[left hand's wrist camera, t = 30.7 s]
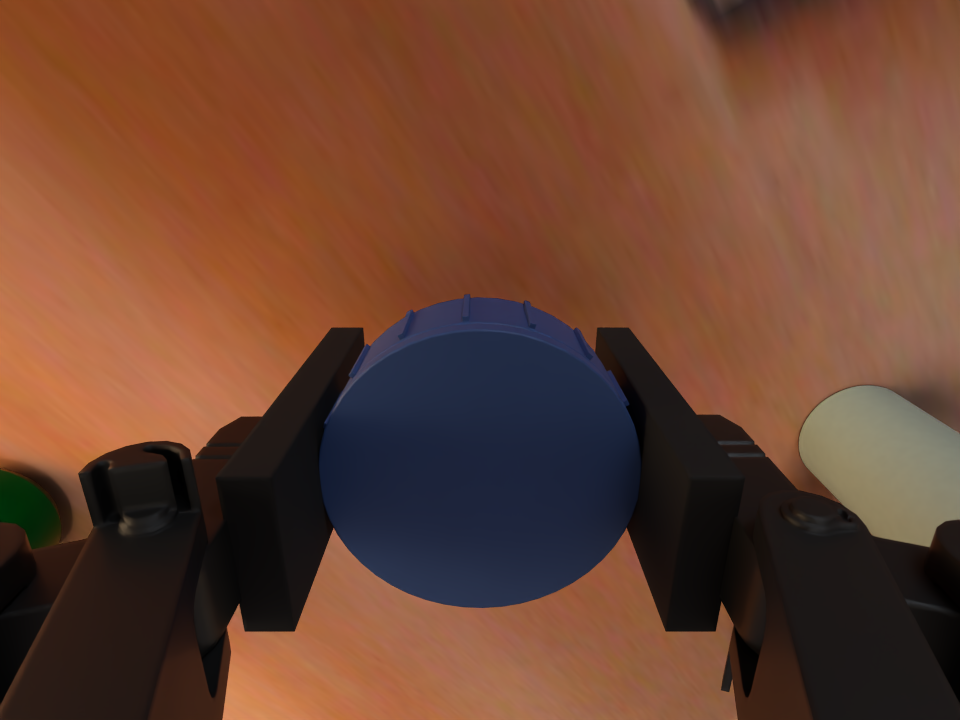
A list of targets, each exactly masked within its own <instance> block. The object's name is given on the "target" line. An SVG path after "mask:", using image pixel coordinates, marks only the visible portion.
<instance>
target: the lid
mask: <svg viewBox="0 0 960 720" xmlns="http://www.w3.org/2000/svg"><path fill="white" fill-rule="evenodd" d="M349 376H350V379H349V381H348V383H347V384H346V386H345V388H344V390H343V391H341V393H340V395H339V397H338V399H337V400H336V402H335V404H334V406H333V408H332V410H331V411H330V413H329V415H328V417H327V419H326V421H325V422H324V426H323V428H325V429H324V433H323V437H322V441H321V445H320V450H319V473H320V482H321V490H322V498H323V504H324V506H325V509H326V512H327V514H328V517H329V520H330V521H331V523H332V525H333V527H334V529H335V531H336V532H337V534H338V536H339V537H340V539H341V540H342V541H343V543H344V544H345V546H346V547H347V548H348V550H349V551H350V552H351V553H352V554H353V555H354V556H355V557H356V558H357V559H358V560H359V561H360V562H361V563H362V564H363V565H364V566H365V567H367V568H368V569H369V570H370V571H371V572H373V573H374V574H375V575H376V576H378V577H380V578H381V579H383V580H384V581H386V582H387V583H389V584H390V585H392V586H394V587H396V588H398V589H400V590H402V591H404V592H406V593H408V594H411V595H414V596H417V597H419V598H422V599H425V600H428V601H432V602H436V603H441V604H445V605H452V606H459V607H472V608H489V607H503V606H509V605H515V604H521V603H524V602H528V601H531V600H535V599H539V598H541V597H544V596H546V595H549V594H551V593H554V592H556V591H558V590H560V589H562V588H564V587H566V586H568V585H570V584H571V583H573V582H575V581H576V580H578V579H579V578H581V577H582V576H583V575H585V574H586V573H588V572H589V571H590V570H591V569H593V568H594V567H595V566H596V565H597V564H598V563H599V562H601V561H602V560H603V559H604V557H605V556H606V555H607V554H608V553H609V552H610V551H611V550H612V548H613V547H614V546H615V545H616V543H617V542H618V540H619V539H620V537H621V536H622V534H623V533H624V531H625V529H626V527H627V525H628V523H629V521H630V519H631V517H632V515H633V512H634V509H635V506H636V503H637V500H638V493H639V485H640V476H641V467H642V458H641V451H640V443H639V440H638V436H637V433H636V429H635V426H634V423H633V421H632V419H631V417H630V415H629V413H628V411H627V408H626V406H628V405H629V403H628V400H627V399H626V397H625V395H624V393H623V391H622V390H621V388H620V386H619V384H618V382H617V381H616V379H615V377H614V375H613V374H612V372H611V370H609V371H606V369H605V367H604V366H603V364H602V362H601V361H600V359H599V358H598V356H597V355H596V353H595V352H594V350H593V349H592V348H591V347H590V346H589V345H588V344H587V343H586V341H585V339H584V337H583V335H582V333H581V331H580V330H579V329H578V328H575V329H574V330H573V329H571V328H570V327H569V326H568V325H566V324H565V323H563V322H561V321H560V320H558V319H557V318H555V317H554V316H552V315H550V314H548V313H546V312H543V311H541V310H539V309H537V308H535V307H531V305H530V302H528V301H524V303H523V304H522V303H519V302H515V301H509V300H503V299H498V298H478V297H477V298H470V294H468V295H464V299H456V300H451V301H446V302H442V303H438V304H435V305H432V306H429V307H426V308H423V309H421V310H419V311H417V312H415V313H414V312H413V310H410V311H408V312H407V314H406V316H405V318H403V319H402V320H400V321H399V322H397V323H396V324H394V325H393V326H391V327H390V328H388V329H387V330H386V331H385V332H384V333H383V334H382V335H381V336H380V337H379V338H378V339H376V340H375V341H374V343H373V344H372V345H371V346H369V345H368V344H366V346H365V347H364V348H363V350H362V352H361V354H360V355H359V357H358V359H357V361H356V363H355V365H354V366H353V368H352V370H351V372H350V374H349Z"/></svg>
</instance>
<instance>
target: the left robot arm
mask: <svg viewBox="0 0 960 720" xmlns="http://www.w3.org/2000/svg"><path fill="white" fill-rule="evenodd" d="M364 347H365V346H364V333H363V328H331V329H330V331H329V332H328V333H327V334H326V336H325V337H324V338H323V340H322V341H321V342H320V343H319V345H318V346H317V347H316V349H315V350H314V351H313V352H312V354H311V355H310V356H309V358H308V359H307V360H306V361H305V363H304V364H303V365H302V367H301V368H300V369H299V370H298V372H297V373H296V374H295V375H294V377H293V378H292V379H291V381H290V382H289V383H288V384H287V386H286V387H285V388H284V390H283V391H282V392H281V393H280V395H279V396H278V397H277V399H276V400H275V401H274V402H273V404H272V405H271V406H270V408H269V409H268V410H267V411H266V413H265V414H264V415H263V417H240V418H238V419H236V420H235V421H233V422H231V423H229V424H228V425H226V426H224V427H223V428H221V429H219V430H218V432H217V433H216V434H215V435H214V436H213V437H212V438H211V439H210V440H209V442H208V443H207V446H206V447H203V448H202V449H201V451H200V452H199V453H198V454H197V455H196V458H195V459H193V460H192V458H191V453H190V449H188V448H187V447H185V446H184V445H182V444H180V443H175V442H169V441H156V442H144V443H139V444H134V445H129V446H125V447H123V448H120V449H117V450H114V451H111V452H108V453H106V454H104V455H102V456H100V457H99V458H97V459H95V460H93V461H91V462H90V463H88V464H87V465H86V466H85V467H84V468H83V469H82V470H81V471H80V472H79V473H78V475H79V478H80V481H81V485H82V488H83V492H84V495H85V499H86V502H87V505H88V509H89V512H90V516H91V519H92V523H93V526H94V527H93V529H92V531H91V533H90V535H89V537H88V538H87V539H83V540H79V541H74V542H69V543H63V544H58V545H53V546H48V547H42V548H37V549H31V546H30V544H29V541H28V538H27V535H26V532H25V530H24V529H23V528H21V527H20V526H18V525H17V524H15V523H5V522H0V720H222V718H223V710H224V703H225V695H226V687H227V679H228V672H229V664H230V656H231V648H230V642H229V636H228V632H227V626H228V624H229V622H230V620H231V618H232V616H233V614H234V612H235V610H236V608H237V606H238V604H240V609H241V614H242V620H243V625H244V630H245V631H295V629H296V626H297V624H298V621H299V618H300V616H301V613H302V610H303V608H304V605H305V602H306V600H307V597H308V594H309V592H310V589H311V586H312V584H313V581H314V578H315V576H316V573H317V570H318V568H319V565H320V562H321V560H322V557H323V554H324V552H325V549H326V546H327V544H328V541H329V538H330V536H331V533H332V530H333V528H334V527H333V525H332V523H331V521H330V520H329V517H328V514H327V512H326V509H325V506H324V504H323V498H322V490H321V482H320V473H319V450H320V445H321V441H322V437H323V433H324V429H325V428H323V426H324V422H325V421H326V419H327V417H328V415H329V413H330V411H331V410H332V408H333V406H334V404H335V402H336V400H337V399H338V397H339V395H340V393H341V391H343V390H344V388H345V386H346V384H347V383H348V381H349V379H350V376H349V374H350V372H351V370H352V368H353V366H354V365H355V363H356V361H357V359H358V357H359V355H360V354H361V352H362V350H363V348H364ZM595 353H596V355H597V356H598V358H599V359H600V361H601V362H602V364H603V366H604V367H605V369H606V371H609V370H611V372H612V374H613V375H614V377H615V379H616V381H617V382H618V384H619V386H620V388H621V390H622V391H623V393H624V395H625V397H626V399H627V400H628V403H629V405H628V406H626V408H627V411H628V413H629V415H630V417H631V419H632V421H633V423H634V426H635V429H636V433H637V436H638V440H639V443H640V451H641V458H642V467H641V476H640V485H639V493H638V500H637V503H636V506H635V509H634V512H633V515H632V517H631V519H630V521H629V523H628V525H627V530H628V532H629V535H630V538H631V540H632V543H633V546H634V548H635V551H636V553H637V556H638V559H639V561H640V564H641V567H642V569H643V572H644V575H645V577H646V580H647V583H648V585H649V588H650V591H651V593H652V596H653V599H654V601H655V604H656V607H657V609H658V612H659V615H660V617H661V620H662V623H663V625H664V628H665V631H716V627H717V621H718V616H719V611H720V606H721V601H722V603H723V605H724V606H725V608H726V610H727V612H728V614H729V616H730V618H731V620H732V622H733V624H734V627H733V632H732V636H731V641H730V646H729V651H728V656H727V661H726V665H725V670H724V675H723V681H722V687H721V690H723V691H727V692H729V690H730V686H731V681H732V679H733V686H734V693H735V701H736V709H737V716H738V720H960V520H950V521H945V522H943V523H942V524H941V525H939V526H938V527H937V528H936V531H935V533H934V536H933V539H932V542H931V545H930V547H927V546H921V545H916V544H911V543H906V542H900V541H895V540H890V539H885V538H880V537H876V536H872V535H871V534H870V532H869V530H868V528H867V526H866V525H865V524H864V523H863V521H862V520H861V519H860V518H859V517H858V516H857V514H855V513H854V512H852V511H851V510H849V509H848V508H846V507H845V506H843V505H842V504H840V503H837V502H835V501H833V500H830V499H828V498H825V497H823V496H820V495H816V494H812V493H808V492H803V491H798V490H797V489H796V488H795V486H794V485H793V484H792V483H791V482H790V481H789V480H788V479H787V478H786V476H785V475H784V474H783V473H782V472H781V471H780V470H779V469H778V468H777V466H776V465H775V464H774V463H773V462H772V461H771V460H770V459H769V458H768V457H765V453H764V452H763V451H762V450H761V449H760V448H759V446H758V445H754V441H753V440H752V439H751V438H750V436H749V435H748V434H747V433H746V432H745V431H744V430H743V429H742V428H741V427H740V426H738V425H736V424H735V423H733V422H731V421H729V420H728V419H726V418H724V417H722V416H721V415H696V414H695V412H694V411H693V410H692V408H691V407H690V406H689V405H688V403H687V402H686V401H685V399H684V398H683V397H682V396H681V394H680V393H679V392H678V390H677V389H676V388H675V387H674V385H673V384H672V383H671V381H670V380H669V379H668V378H667V376H666V375H665V374H664V372H663V371H662V370H661V369H660V367H659V366H658V365H657V363H656V362H655V361H654V360H653V358H652V357H651V356H650V354H649V353H648V352H647V351H646V349H645V348H644V347H643V345H642V344H641V343H640V342H639V340H638V339H637V338H636V337H635V335H634V334H633V333H632V331H631V330H630V329H629V328H597V337H596V350H595Z"/></svg>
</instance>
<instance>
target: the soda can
mask: <svg viewBox="0 0 960 720" xmlns="http://www.w3.org/2000/svg"><path fill="white" fill-rule="evenodd" d="M0 522H5V523H15V524H17V525H18V526H20V527H21V528H23V529H24V530H25V532H26V535H27V538H28V541H29V544H30V546H31V549H37V548H42V547H48V546H53V545H58V543H59V541H60V538H61V518H60V514H59V511H58V508H57V506H56V503H55V502H54V500H53V499H52V497H51V496H50V495H49V493H48V492H47V491H46V490H45V489H44V488H43V487H42V486H40V485H39V484H38V483H36V482H35V481H34V480H32V479H30V478H28V477H26V476H24V475H22V474H19V473H17V472H13V471H10V470H4V469H0Z"/></svg>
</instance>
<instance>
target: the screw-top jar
mask: <svg viewBox="0 0 960 720" xmlns="http://www.w3.org/2000/svg"><path fill="white" fill-rule="evenodd" d="M799 452H800V456H801V459H802V461H803V463H804V464H805V466H806V467H807V468H808V469H809V470H810V471H811V472H812V473H813V475H814V476H815V477H816V478H817V479H818V480H819V481H820V482H821V483H822V484H823V485H824V486H825V487H826V488H827V489H828V490H829V491H830V492H831V493H832V494H833V495H834V496H835V497H836V498H837V499H838V500H839V501H840V502H841V503H842V504H843V505H844V506H845V507H846V508H848V509H849V510H851V511H852V512H854V513H855V514H857V516H858V517H859V518H860V519H861V520H862V521H863V523H864V524H865V525H866V526H867V528H868V530H869V532H870V533H871V534H872V535H873V536H876V537H880V538H885V539H890V540H895V541H900V542H906V543H911V544H916V545H921V546H927V547H930V545H931V542H932V539H933V536H934V533H935V531H936V528H937V527H938V526H939V525H941V524H942V523H943V522H945V521H950V520H960V433H958V432H957V431H955V430H953V429H952V428H950V427H949V426H947V425H945V424H944V423H942V422H941V421H939V420H938V419H936V418H934V417H933V416H931V415H930V414H928V413H926V412H925V411H923V410H922V409H920V408H919V407H917V406H915V405H914V404H912V403H911V402H909V401H907V400H906V399H904V398H903V397H901V396H900V395H898V394H896V393H895V392H893V391H891V390H889V389H887V388H883V387H879V386H871V385H868V386H856V387H852V388H848V389H845V390H842V391H840V392H837V393H835V394H833V395H832V396H830V397H828V398H827V399H825V400H824V401H823V402H821V403H820V404H819V405H818V406H817V407H816V408H815V409H814V410H813V411H812V412H811V414H810V415H809V416H808V418H807V419H806V421H805V423H804V425H803V427H802V430H801V433H800V437H799Z"/></svg>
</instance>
